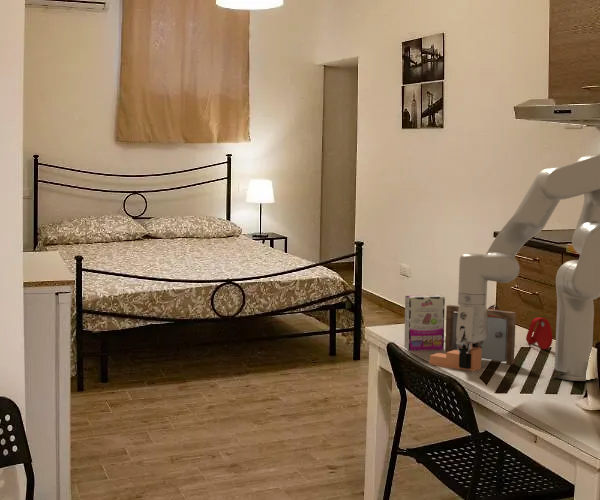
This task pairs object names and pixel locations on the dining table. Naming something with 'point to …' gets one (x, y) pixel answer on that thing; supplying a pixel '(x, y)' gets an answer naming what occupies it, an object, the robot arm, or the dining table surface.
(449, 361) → the orange stepped block
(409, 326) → the candy bar box
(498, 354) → the door
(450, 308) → the brown door frame
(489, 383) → the dining table surface
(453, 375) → the dining table surface
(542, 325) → the tracker holder
